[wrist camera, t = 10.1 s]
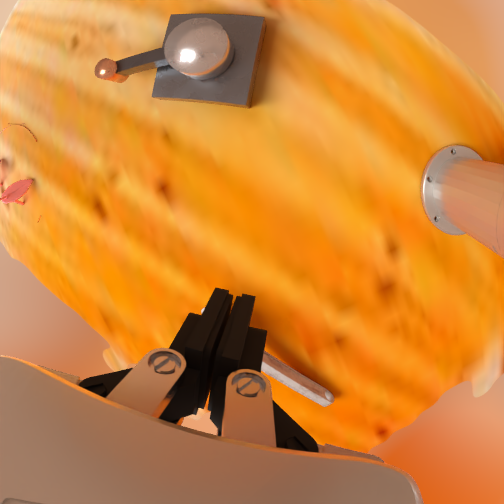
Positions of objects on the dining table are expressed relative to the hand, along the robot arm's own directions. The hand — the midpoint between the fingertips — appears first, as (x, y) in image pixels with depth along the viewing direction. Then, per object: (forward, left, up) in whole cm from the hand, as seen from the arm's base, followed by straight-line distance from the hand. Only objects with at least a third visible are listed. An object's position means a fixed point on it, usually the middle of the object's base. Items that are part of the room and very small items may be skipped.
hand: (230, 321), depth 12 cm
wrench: (-5, +24, -28) cm, 37 cm away
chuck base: (+11, -17, -27) cm, 34 cm away
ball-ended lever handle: (+16, -16, -24) cm, 33 cm away
